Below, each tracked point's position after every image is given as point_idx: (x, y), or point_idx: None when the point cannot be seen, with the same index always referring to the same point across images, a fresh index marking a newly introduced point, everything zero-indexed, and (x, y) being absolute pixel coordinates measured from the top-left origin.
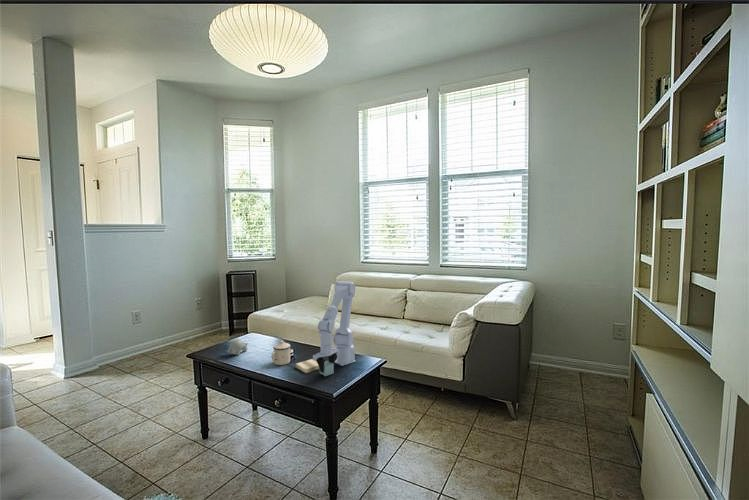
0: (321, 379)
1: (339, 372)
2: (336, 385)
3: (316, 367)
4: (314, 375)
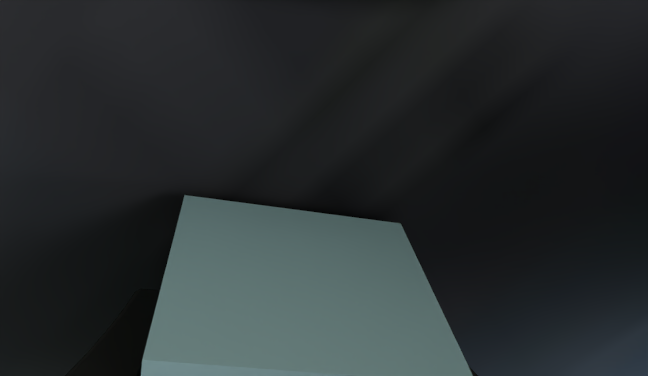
0: (57, 366)
1: None
2: None
3: None
4: (60, 150)
